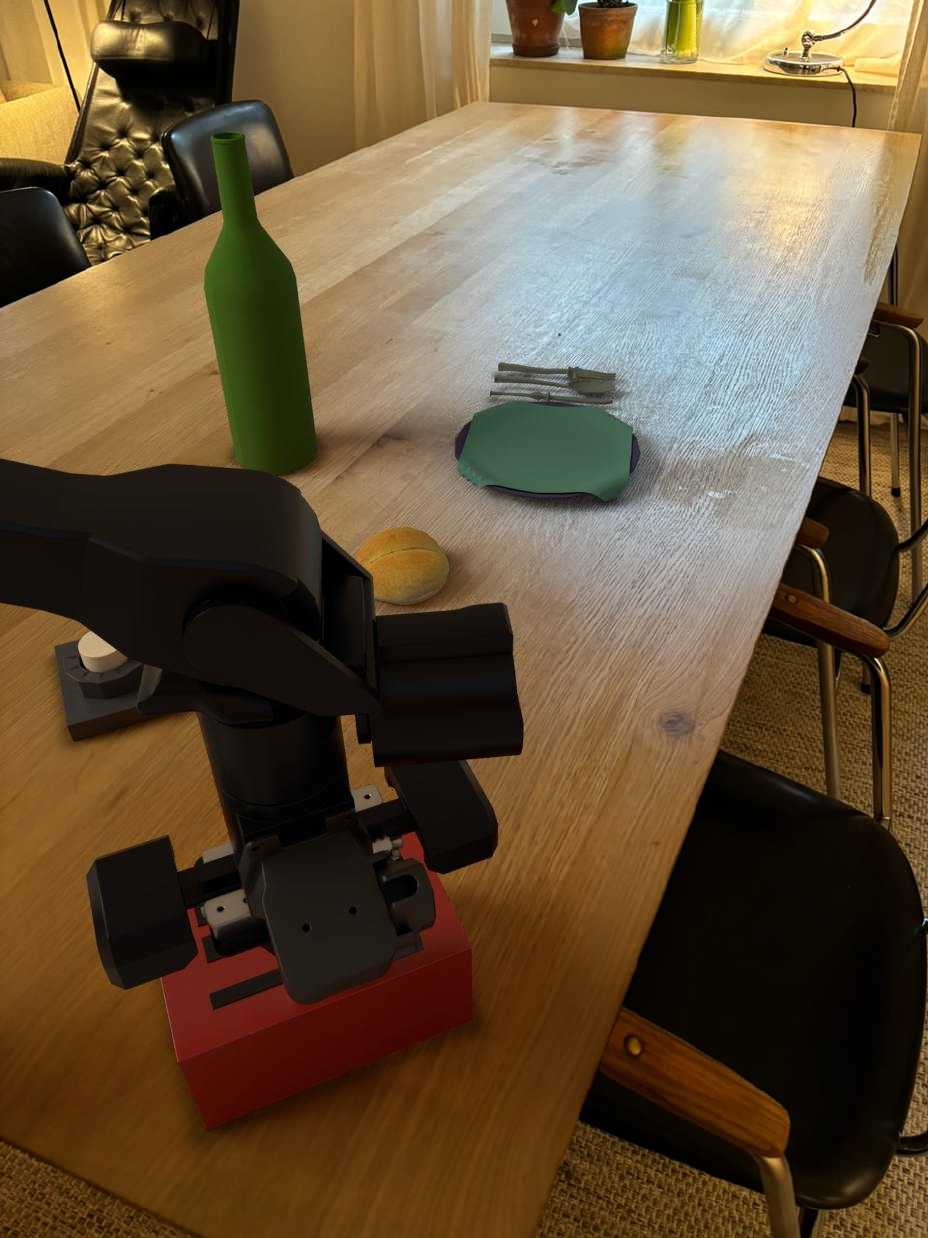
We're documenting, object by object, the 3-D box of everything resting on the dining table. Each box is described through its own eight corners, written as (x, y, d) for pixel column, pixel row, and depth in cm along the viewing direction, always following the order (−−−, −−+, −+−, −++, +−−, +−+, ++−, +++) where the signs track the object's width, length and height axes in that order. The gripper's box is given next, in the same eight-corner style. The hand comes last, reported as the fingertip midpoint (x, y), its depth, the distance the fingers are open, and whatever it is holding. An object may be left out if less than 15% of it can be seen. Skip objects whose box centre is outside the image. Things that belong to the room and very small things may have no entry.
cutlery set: (438, 504, 101) (437, 485, 99) (483, 370, 123) (483, 353, 122) (635, 521, 98) (637, 502, 97) (645, 381, 121) (647, 364, 119)
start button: (86, 678, 78) (80, 662, 76) (81, 650, 80) (75, 633, 79) (133, 665, 79) (128, 649, 78) (126, 638, 81) (121, 621, 80)
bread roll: (370, 616, 88) (366, 581, 85) (352, 557, 94) (348, 523, 92) (460, 600, 89) (459, 564, 87) (436, 543, 96) (435, 509, 93)
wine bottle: (268, 427, 113) (219, 117, 92) (333, 445, 110) (298, 128, 89) (218, 463, 107) (154, 141, 86) (286, 484, 104) (236, 154, 83)
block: (72, 741, 77) (60, 709, 74) (59, 660, 84) (47, 629, 81) (176, 711, 79) (167, 679, 77) (155, 635, 86) (146, 604, 84)
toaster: (206, 1131, 55) (176, 1061, 49) (172, 976, 62) (144, 901, 56) (473, 1020, 59) (472, 946, 54) (413, 888, 66) (407, 811, 61)
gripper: (75, 996, 34) (168, 1175, 44) (557, 822, 40) (541, 1017, 50) (45, 770, 42) (130, 966, 52) (451, 651, 48) (456, 849, 58)
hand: (317, 951), depth 53 cm, fingers closed on slider, 2 cm apart
